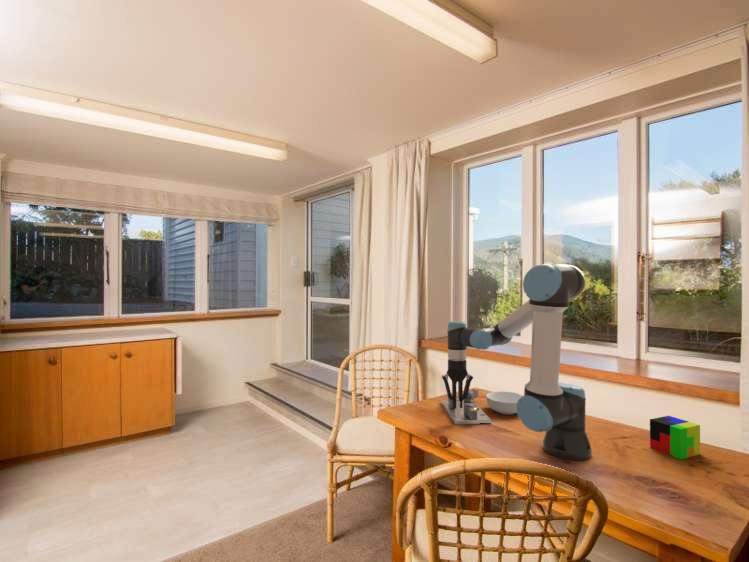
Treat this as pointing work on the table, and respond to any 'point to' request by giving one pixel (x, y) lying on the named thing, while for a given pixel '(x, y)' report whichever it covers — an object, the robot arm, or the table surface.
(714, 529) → the table surface
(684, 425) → the puzzle toy
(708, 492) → the table surface
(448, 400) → the knob
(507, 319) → the robot arm
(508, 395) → the cereal bowl
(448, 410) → the level plate
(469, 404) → the knob
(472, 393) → the knob
